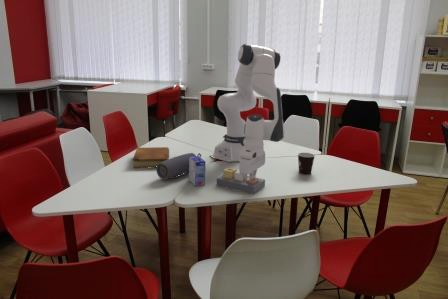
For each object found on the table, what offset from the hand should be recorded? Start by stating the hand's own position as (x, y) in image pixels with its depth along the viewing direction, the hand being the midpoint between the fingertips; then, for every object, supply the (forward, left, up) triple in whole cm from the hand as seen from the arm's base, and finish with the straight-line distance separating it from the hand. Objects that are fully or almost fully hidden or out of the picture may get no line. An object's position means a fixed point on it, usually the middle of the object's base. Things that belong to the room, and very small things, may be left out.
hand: (252, 178), depth 180 cm
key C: (0, 0, -5) cm, 5 cm away
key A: (-12, 0, -2) cm, 12 cm away
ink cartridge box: (-26, -8, -5) cm, 28 cm away
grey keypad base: (-6, 0, -5) cm, 8 cm away
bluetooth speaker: (-40, -5, -5) cm, 41 cm away
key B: (-6, 0, -2) cm, 7 cm away
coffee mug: (+13, +38, -5) cm, 40 cm away
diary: (-66, +5, -6) cm, 67 cm away
